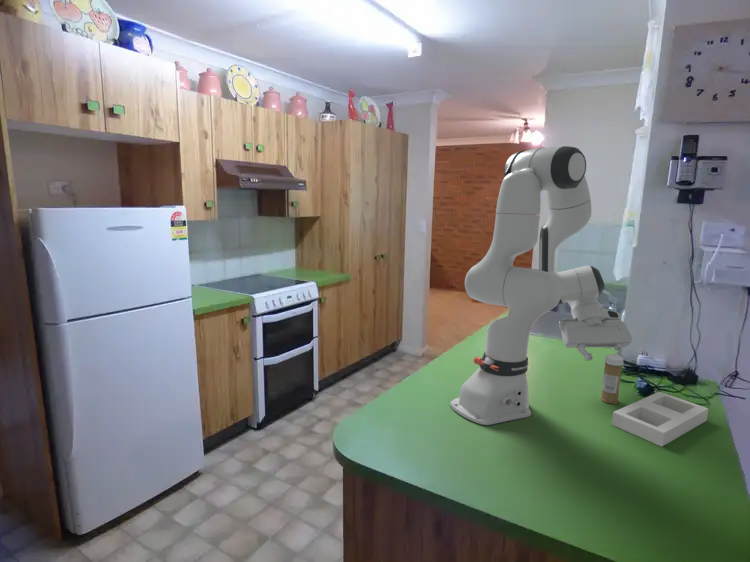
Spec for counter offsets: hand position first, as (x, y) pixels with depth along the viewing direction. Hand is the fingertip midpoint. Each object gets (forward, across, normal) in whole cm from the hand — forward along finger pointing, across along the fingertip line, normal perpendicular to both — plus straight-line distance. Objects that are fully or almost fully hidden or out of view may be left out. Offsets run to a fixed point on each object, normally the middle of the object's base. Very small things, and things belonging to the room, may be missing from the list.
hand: (604, 359), depth 128 cm
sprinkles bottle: (+11, 0, +5) cm, 12 cm away
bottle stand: (+20, +6, -4) cm, 21 cm away
